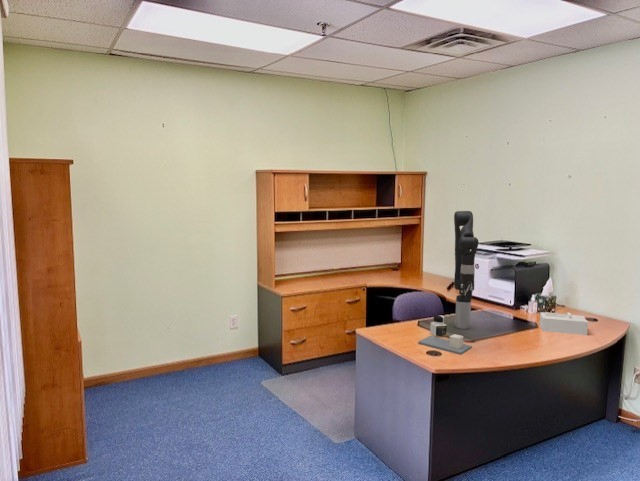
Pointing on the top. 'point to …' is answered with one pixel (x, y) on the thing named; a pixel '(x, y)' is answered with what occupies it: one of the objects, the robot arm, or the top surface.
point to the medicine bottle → (438, 326)
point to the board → (443, 345)
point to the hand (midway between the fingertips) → (466, 299)
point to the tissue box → (563, 323)
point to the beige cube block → (456, 341)
